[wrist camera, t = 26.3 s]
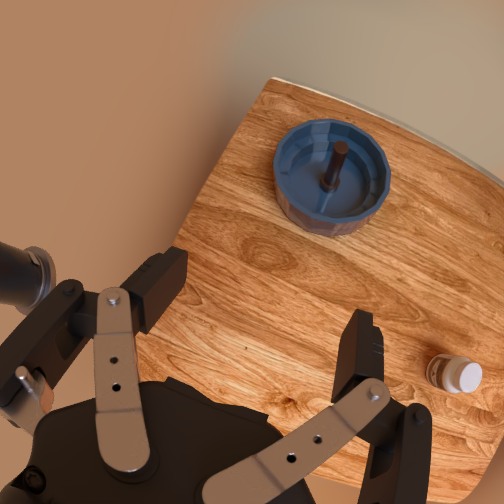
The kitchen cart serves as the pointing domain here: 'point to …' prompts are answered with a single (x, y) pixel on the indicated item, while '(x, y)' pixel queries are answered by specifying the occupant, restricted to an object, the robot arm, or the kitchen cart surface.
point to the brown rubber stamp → (334, 167)
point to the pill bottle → (453, 373)
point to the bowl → (315, 164)
